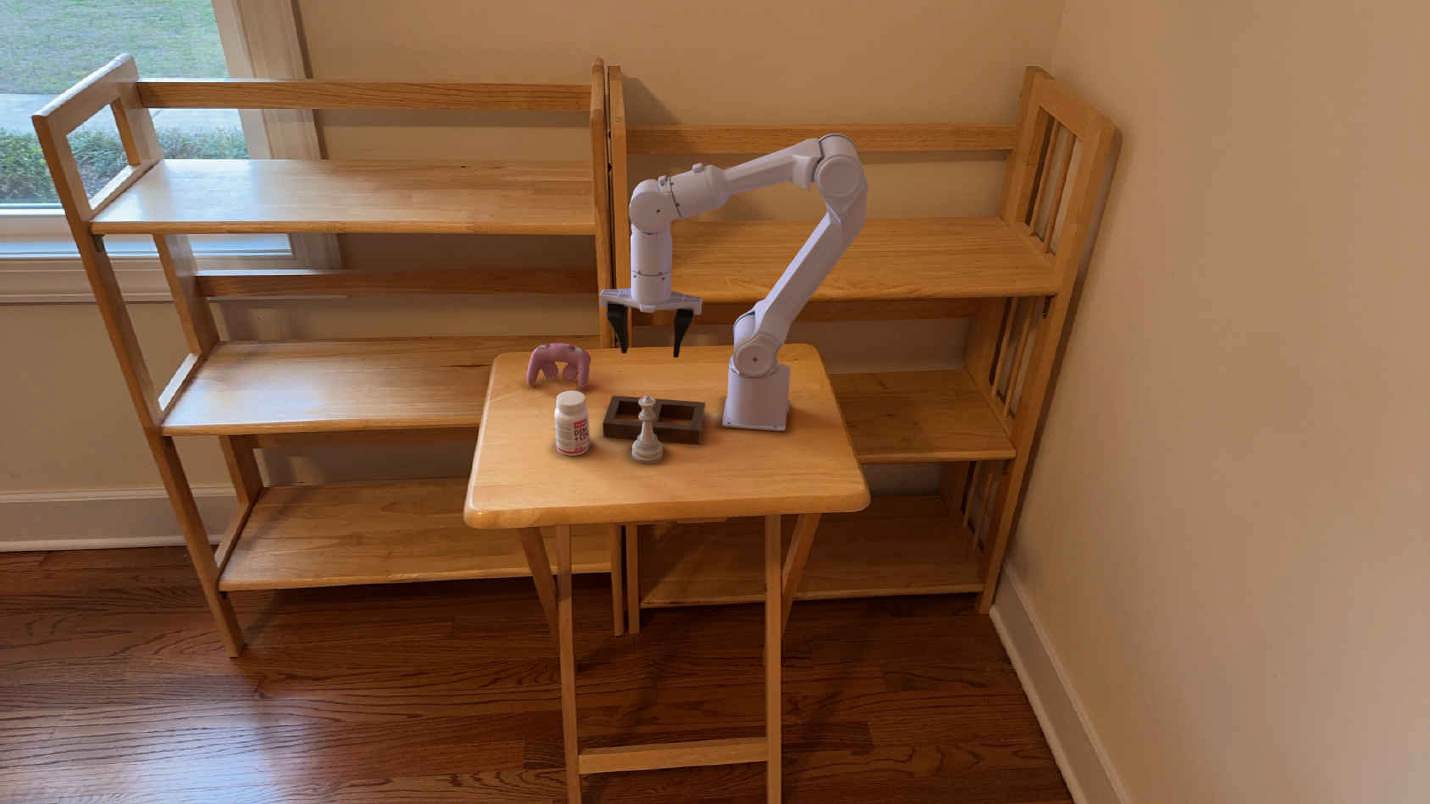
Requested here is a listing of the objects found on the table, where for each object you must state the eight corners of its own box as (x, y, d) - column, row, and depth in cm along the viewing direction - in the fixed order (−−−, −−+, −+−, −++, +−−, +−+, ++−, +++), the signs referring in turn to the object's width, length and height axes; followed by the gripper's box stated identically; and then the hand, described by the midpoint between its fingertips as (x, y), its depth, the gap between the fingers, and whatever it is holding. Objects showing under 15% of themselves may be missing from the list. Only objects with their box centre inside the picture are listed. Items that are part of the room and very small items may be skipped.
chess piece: (666, 461, 136) (666, 402, 130) (635, 466, 134) (635, 406, 129) (658, 444, 139) (658, 385, 134) (629, 448, 138) (628, 389, 133)
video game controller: (591, 388, 155) (594, 345, 154) (585, 390, 150) (588, 346, 149) (531, 383, 155) (533, 340, 155) (523, 385, 151) (526, 341, 150)
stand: (704, 416, 146) (705, 402, 145) (699, 444, 139) (699, 430, 138) (612, 408, 147) (612, 395, 146) (603, 437, 140) (602, 423, 139)
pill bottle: (580, 459, 135) (578, 409, 131) (550, 452, 137) (547, 402, 132) (595, 442, 139) (593, 393, 135) (566, 435, 140) (563, 386, 136)
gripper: (594, 275, 131) (596, 361, 138) (699, 283, 130) (696, 369, 137) (604, 254, 137) (606, 338, 144) (705, 262, 136) (701, 346, 143)
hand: (650, 352), depth 141 cm, fingers open, 7 cm apart
